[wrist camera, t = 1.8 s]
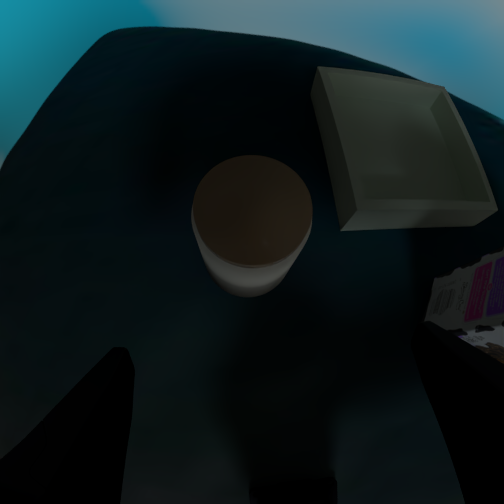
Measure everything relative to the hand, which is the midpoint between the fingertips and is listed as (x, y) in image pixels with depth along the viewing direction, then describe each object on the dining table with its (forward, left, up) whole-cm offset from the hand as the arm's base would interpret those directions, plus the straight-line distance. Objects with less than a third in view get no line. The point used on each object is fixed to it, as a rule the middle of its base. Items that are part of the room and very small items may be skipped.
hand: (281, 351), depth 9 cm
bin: (+16, -15, -14) cm, 26 cm away
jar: (+7, 0, -14) cm, 15 cm away
